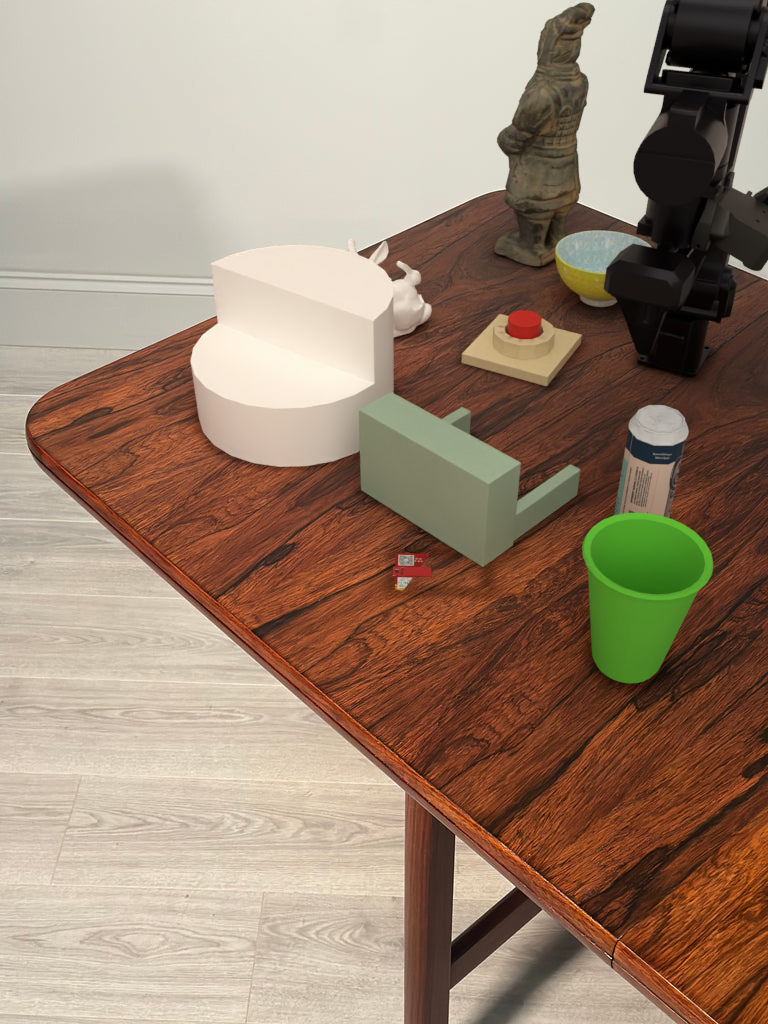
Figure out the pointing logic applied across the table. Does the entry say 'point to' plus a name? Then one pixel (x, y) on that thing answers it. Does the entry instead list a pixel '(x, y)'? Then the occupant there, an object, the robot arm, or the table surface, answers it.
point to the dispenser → (451, 478)
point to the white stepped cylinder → (293, 353)
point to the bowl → (591, 262)
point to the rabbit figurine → (402, 294)
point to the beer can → (651, 461)
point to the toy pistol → (409, 568)
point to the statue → (546, 142)
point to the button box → (522, 351)
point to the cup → (640, 590)
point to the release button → (524, 324)
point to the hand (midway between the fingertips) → (660, 330)
